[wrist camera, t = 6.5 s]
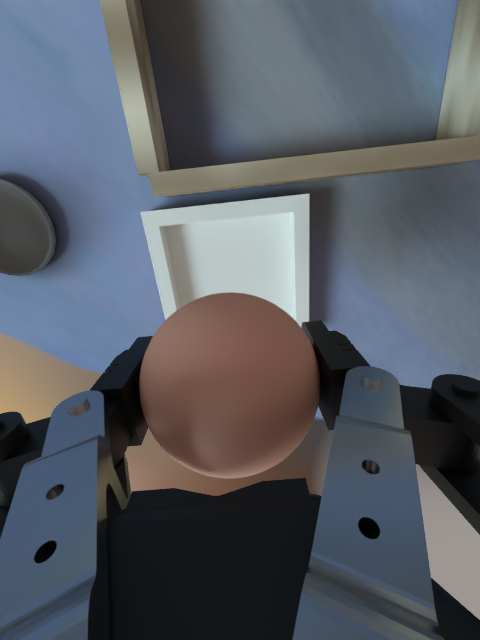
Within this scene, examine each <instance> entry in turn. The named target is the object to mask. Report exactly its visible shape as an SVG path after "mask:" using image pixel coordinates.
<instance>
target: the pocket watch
mask: <svg viewBox="0 0 480 640" xmlns="http://www.w3.org/2000/svg"><path fill="white" fill-rule="evenodd" d="M55 244H56V239H55V231H54V228H53V225H52V221H51V219H50V218H49V216H48V214H47V212H46V210H45V209H44V208H43V206H42V205H41V204H40V202H39V201H38V200H37V199H36V198H35V197H34V196H33V195H32V194H30V193H29V192H27V191H26V190H25V189H23V188H22V187H21V186H18V185H16V184H14V183H12V182H10V181H7V180H3V179H0V272H1V273H4V274H8V275H16V276H19V275H29V274H32V273H34V272H37V271H39V270H41V269H43V268H44V267H45V266H46V265H47V264H48V263H49V262H50V260H51V258H52V256H53V255H54V250H55Z"/></svg>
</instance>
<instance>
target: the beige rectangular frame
mask: <svg viewBox="0 0 480 640" xmlns="http://www.w3.org/2000/svg"><path fill="white" fill-rule="evenodd" d="M100 5H101V9H102V14H103V18H104V23H105V27H106V32H107V36H108V41H109V45H110V50H111V54H112V59H113V63H114V68H115V72H116V77H117V81H118V86H119V90H120V95H121V99H122V104H123V108H124V113H125V117H126V122H127V126H128V130H129V135H130V139H131V144H132V148H133V153H134V157H135V162H136V166H137V171H138V174H139V175H143V176H146V177H149V178H150V183H151V188H152V192H153V196H162V197H170V196H179V195H188V194H197V193H206V192H215V191H224V190H233V189H242V188H252V187H261V186H270V185H279V184H288V183H297V182H306V181H315V180H324V179H333V178H342V177H351V176H360V175H369V174H378V173H387V172H396V171H405V170H414V169H423V168H432V167H440V166H446V165H452V164H458V163H464V162H469V161H475V160H480V0H458V5H457V12H456V18H455V24H454V30H453V36H452V43H451V49H450V55H449V61H448V67H447V73H446V80H445V86H444V92H443V98H442V104H441V110H440V117H439V123H438V129H437V135H436V140H435V141H427V142H418V143H409V144H400V145H391V146H383V147H374V148H365V149H356V150H347V151H339V152H330V153H321V154H312V155H303V156H295V157H286V158H277V159H268V160H259V161H251V162H242V163H233V164H224V165H215V166H207V167H198V168H189V169H180V170H171V169H170V164H169V158H168V152H167V147H166V141H165V136H164V130H163V124H162V119H161V113H160V108H159V102H158V97H157V91H156V85H155V80H154V74H153V69H152V63H151V57H150V52H149V46H148V41H147V35H146V29H145V24H144V18H143V13H142V7H141V2H140V0H100Z"/></svg>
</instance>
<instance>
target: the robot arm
mask: <svg viewBox="0 0 480 640" xmlns="http://www.w3.org/2000/svg"><path fill="white" fill-rule="evenodd" d="M301 328H302V329H303V331H304V332H305V334H306V335H307V337H308V339H309V340H310V342H311V345H312V347H313V350H314V352H315V355H316V357H317V361H318V366H319V372H320V384H321V385H320V397H319V404H318V406H319V408H320V411H321V413H322V416H323V418H324V420H325V423H326V425H327V428H328V430H334V432H333V437H332V443H331V448H330V454H329V459H328V464H327V470H326V475H325V481H324V486H323V492H322V496H320V495H316V494H311V493H309V491H308V487H307V482H306V478H298V479H285V480H273V481H262V482H259V483H256V484H253V485H250V486H247V487H244V488H241V489H238V490H235V491H233V492H230V493H227V494H223V495H220V496H211V495H206V494H201V493H196V492H191V491H186V490H181V489H175V488H171V489H158V490H147V491H146V490H145V491H133V492H132V493H131V488H130V481H129V471H128V463H127V458H126V455H125V451H126V449H127V447H128V446H137V445H141V444H142V442H143V439H144V437H145V434H146V431H147V429H148V425H147V422H146V420H145V417H144V414H143V410H142V406H141V401H140V391H139V379H140V371H141V366H142V362H143V358H144V354H145V352H146V350H147V348H148V346H149V343H150V341H151V339H152V337H153V336H147V337H138V338H137V339H136V341H135V342H134V343H133V345H132V346H131V347H130V349H129V350H125V351H124V352H122V353H121V354H120V355H118V356H117V357H116V358H115V359H114V360H113V361H112V363H111V364H110V366H108V368H107V369H106V370H105V373H103V374H102V375H101V377H100V378H99V379H98V380H97V382H96V383H95V384H94V385H93V387H92V388H91V389H90V391H85V392H81V393H78V394H76V395H73V396H71V397H69V398H67V399H65V400H64V401H62V402H61V403H60V404H59V405H58V406H56V408H55V409H54V410H53V412H52V415H51V417H49V418H46V419H42V420H39V421H35V422H32V423H28V424H26V423H25V421H24V419H23V417H22V416H21V414H20V413H18V412H6V413H2V414H0V640H480V620H479V619H478V618H476V617H475V616H474V615H473V614H472V613H471V612H470V611H468V610H467V609H466V608H465V607H464V606H463V605H461V604H460V603H459V602H458V601H457V600H456V599H454V597H452V596H451V595H450V594H449V593H448V592H447V591H445V590H444V589H443V588H442V587H441V586H440V585H439V584H438V583H436V582H435V581H434V580H433V579H432V578H431V577H430V576H431V575H430V568H429V561H428V553H427V546H426V539H425V531H424V524H423V517H422V509H421V503H420V495H419V487H418V480H417V473H416V465H415V464H419V465H420V467H421V468H422V469H423V471H424V472H425V473H426V474H427V475H428V476H429V477H430V479H431V480H432V481H433V482H434V483H435V484H436V485H437V486H438V488H439V489H440V490H441V491H442V492H443V493H444V495H445V496H446V497H447V498H448V499H449V500H450V501H451V503H452V504H453V505H454V506H455V507H456V508H457V509H458V510H459V511H460V513H461V514H462V515H463V516H464V517H465V519H466V520H467V521H468V522H469V523H470V524H471V525H472V526H473V528H474V529H475V530H476V531H477V532H478V533H479V534H480V381H479V380H476V379H474V378H470V377H467V376H462V375H455V374H445V375H440V376H437V377H436V378H434V380H433V382H432V387H431V389H428V388H419V387H410V386H403V385H399V382H398V380H397V378H396V377H395V376H394V375H392V374H391V373H389V372H387V371H385V370H383V369H380V368H376V367H371V366H370V365H369V364H368V363H367V361H366V360H365V359H364V358H363V357H362V355H361V354H360V353H359V352H358V350H356V348H355V347H354V346H353V344H351V342H350V341H349V340H348V338H347V337H346V336H345V335H343V334H341V333H339V332H337V331H329V330H328V329H327V328H326V326H325V325H324V324H323V322H322V321H321V320H319V321H308V322H302V326H301Z"/></svg>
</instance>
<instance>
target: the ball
mask: <svg viewBox="0 0 480 640" xmlns="http://www.w3.org/2000/svg"><path fill="white" fill-rule="evenodd" d="M320 385H321V384H320V372H319V366H318V361H317V357H316V355H315V352H314V350H313V347H312V345H311V342H310V340H309V339H308V337H307V335H306V334H305V332H304V331H303V329H302V328H301V327H300V326H299V324H298V323H297V322H296V321H295V320H294V319H293V318H292V317H291V316H290V315H289V314H288V313H287V312H285V311H284V310H282V309H281V308H280V307H278V306H277V305H275V304H273V303H271V302H270V301H268V300H266V299H263V298H260V297H257V296H254V295H249V294H245V293H235V292H229V293H217V294H211V295H207V296H204V297H201V298H198V299H196V300H194V301H191V302H189V303H188V304H186V305H184V306H183V307H181V308H180V309H178V310H177V311H175V312H174V313H173V314H172V315H171V316H169V317H168V318H167V319H166V321H165V322H164V323H163V324H162V325H161V326H160V327H159V329H158V330H157V331H156V333H155V334H154V336H153V337H152V339H151V341H150V343H149V346H148V348H147V350H146V352H145V354H144V358H143V362H142V366H141V371H140V379H139V391H140V401H141V406H142V410H143V414H144V417H145V420H146V422H147V425H148V427H149V429H150V431H151V432H152V434H153V436H154V438H155V439H156V441H157V442H158V443H159V444H160V446H161V447H162V448H163V449H164V450H165V451H166V452H167V453H168V454H169V455H170V456H171V457H172V458H173V459H175V460H176V461H177V462H179V463H180V464H182V465H184V466H186V467H187V468H189V469H191V470H193V471H196V472H198V473H201V474H204V475H207V476H212V477H218V478H240V477H246V476H251V475H255V474H258V473H260V472H263V471H265V470H267V469H269V468H271V467H273V466H275V465H276V464H278V463H280V462H281V461H282V460H284V459H285V458H286V457H287V456H288V455H290V454H291V452H293V451H294V450H295V449H296V448H297V446H298V445H299V444H300V443H301V442H302V440H303V439H304V437H305V435H306V434H307V432H308V430H309V429H310V427H311V425H312V423H313V420H314V418H315V414H316V411H317V408H318V404H319V397H320Z"/></svg>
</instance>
